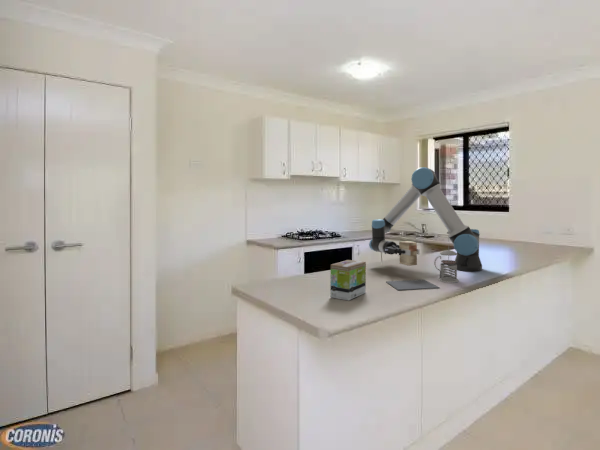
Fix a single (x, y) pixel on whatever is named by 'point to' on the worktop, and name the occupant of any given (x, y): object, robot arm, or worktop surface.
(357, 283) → the tea box
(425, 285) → the mat
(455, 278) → the french press
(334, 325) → the worktop surface
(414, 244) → the birch block
